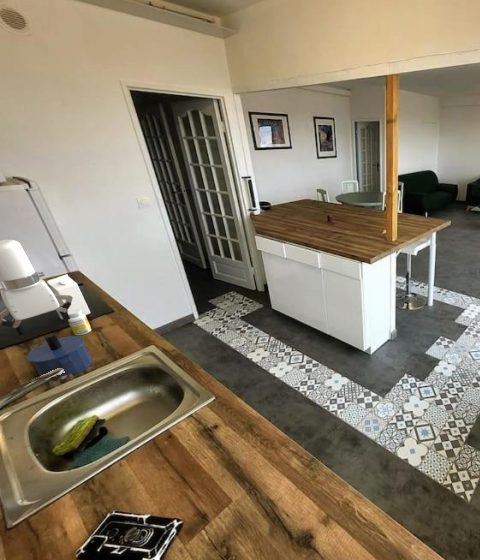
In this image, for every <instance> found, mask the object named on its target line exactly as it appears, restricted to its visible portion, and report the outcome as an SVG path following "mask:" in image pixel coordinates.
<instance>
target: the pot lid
mask: <svg viewBox="0 0 480 560" xmlns="http://www.w3.org/2000/svg"><path fill="white" fill-rule="evenodd" d="M43 339H44V341H45V342H44V343H42V344H40V345H38V346H37V347H35V348H33V349H32V350H31V351H29V353H27V355H26V360H27V361H28V362H29V363H32V362H33V363H40V362H47V361H52V360H55V359H58V358H61V357H64V356H66V355H68V354H70V353H72V352H74V351H76V350H77V349H79V348H80V347H81V346H82V345H83V344H84V345H85V339H84V337H82V336H80V335H74V336H73V335H70V336H63V337H60V338H58V336H57V334H56V333H49V334H46V335H45V336H44V337H43Z"/></svg>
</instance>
